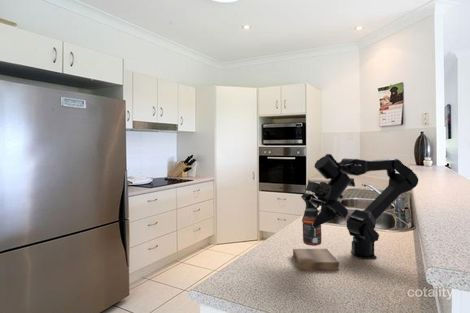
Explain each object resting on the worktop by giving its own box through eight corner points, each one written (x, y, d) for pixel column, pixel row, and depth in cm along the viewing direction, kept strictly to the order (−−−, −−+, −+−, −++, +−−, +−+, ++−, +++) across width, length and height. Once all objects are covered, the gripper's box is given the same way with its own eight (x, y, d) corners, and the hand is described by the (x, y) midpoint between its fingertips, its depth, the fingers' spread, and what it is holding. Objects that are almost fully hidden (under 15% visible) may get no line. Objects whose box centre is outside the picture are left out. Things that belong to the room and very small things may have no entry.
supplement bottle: (320, 247, 90) (319, 212, 89) (301, 245, 92) (300, 211, 91) (322, 241, 95) (321, 207, 95) (304, 239, 97) (303, 207, 97)
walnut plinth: (326, 255, 101) (326, 248, 101) (338, 270, 89) (338, 262, 89) (293, 255, 101) (293, 248, 101) (300, 270, 89) (300, 262, 89)
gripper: (304, 170, 103) (278, 203, 100) (339, 174, 85) (308, 215, 82) (323, 190, 106) (299, 223, 103) (360, 198, 88) (332, 238, 85)
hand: (308, 224), depth 93 cm, fingers closed on supplement bottle, 6 cm apart
